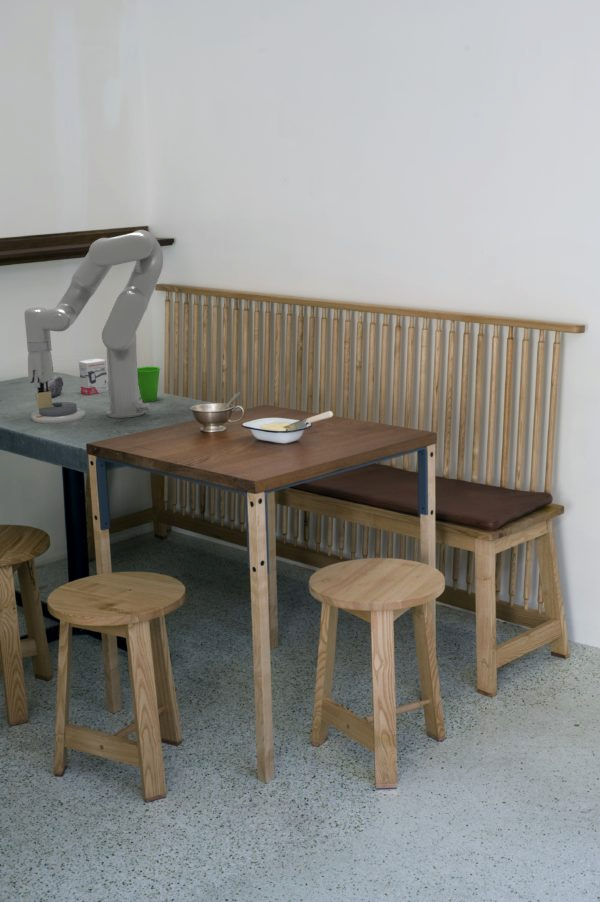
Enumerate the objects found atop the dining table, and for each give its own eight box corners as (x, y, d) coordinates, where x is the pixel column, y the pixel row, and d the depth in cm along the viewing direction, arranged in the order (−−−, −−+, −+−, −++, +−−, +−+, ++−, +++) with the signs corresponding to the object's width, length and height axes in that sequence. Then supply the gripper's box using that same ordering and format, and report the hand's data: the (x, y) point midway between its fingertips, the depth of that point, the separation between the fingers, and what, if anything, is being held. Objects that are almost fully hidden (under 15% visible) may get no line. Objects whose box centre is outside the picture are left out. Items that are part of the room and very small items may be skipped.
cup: (167, 398, 381) (165, 367, 379) (150, 403, 374) (148, 372, 371) (147, 396, 386) (145, 365, 383) (130, 401, 379) (128, 369, 376)
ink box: (88, 395, 391) (86, 362, 388) (80, 393, 394) (78, 361, 391) (108, 391, 396) (106, 359, 393) (100, 390, 400) (98, 358, 397)
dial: (69, 406, 365) (68, 385, 363) (82, 412, 355) (80, 391, 353) (32, 411, 359) (31, 390, 357) (44, 418, 349) (42, 396, 347)
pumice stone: (33, 403, 391) (52, 398, 385) (26, 382, 390) (45, 377, 384) (53, 397, 399) (72, 392, 393) (47, 377, 398) (66, 371, 392)
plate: (94, 412, 363) (93, 407, 362) (70, 424, 347) (69, 418, 347) (47, 410, 367) (47, 405, 367) (22, 422, 352) (21, 416, 351)
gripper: (37, 343, 360) (42, 397, 365) (18, 350, 346) (24, 407, 351) (59, 342, 359) (64, 398, 364) (41, 350, 345) (46, 407, 349)
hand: (44, 402), depth 357 cm, fingers closed
